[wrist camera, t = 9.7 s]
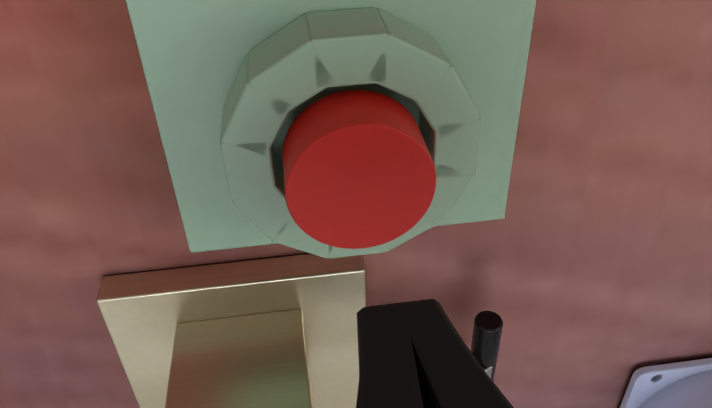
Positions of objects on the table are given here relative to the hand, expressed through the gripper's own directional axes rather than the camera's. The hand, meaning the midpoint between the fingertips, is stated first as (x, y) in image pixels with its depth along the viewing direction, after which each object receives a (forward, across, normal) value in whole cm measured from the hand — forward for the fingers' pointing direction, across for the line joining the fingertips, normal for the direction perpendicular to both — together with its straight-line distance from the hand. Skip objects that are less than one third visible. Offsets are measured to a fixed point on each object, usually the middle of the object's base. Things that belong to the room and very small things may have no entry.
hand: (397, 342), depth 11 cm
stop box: (+10, 0, 0) cm, 10 cm away
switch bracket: (+10, +4, +10) cm, 14 cm away
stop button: (+6, 0, 0) cm, 6 cm away
